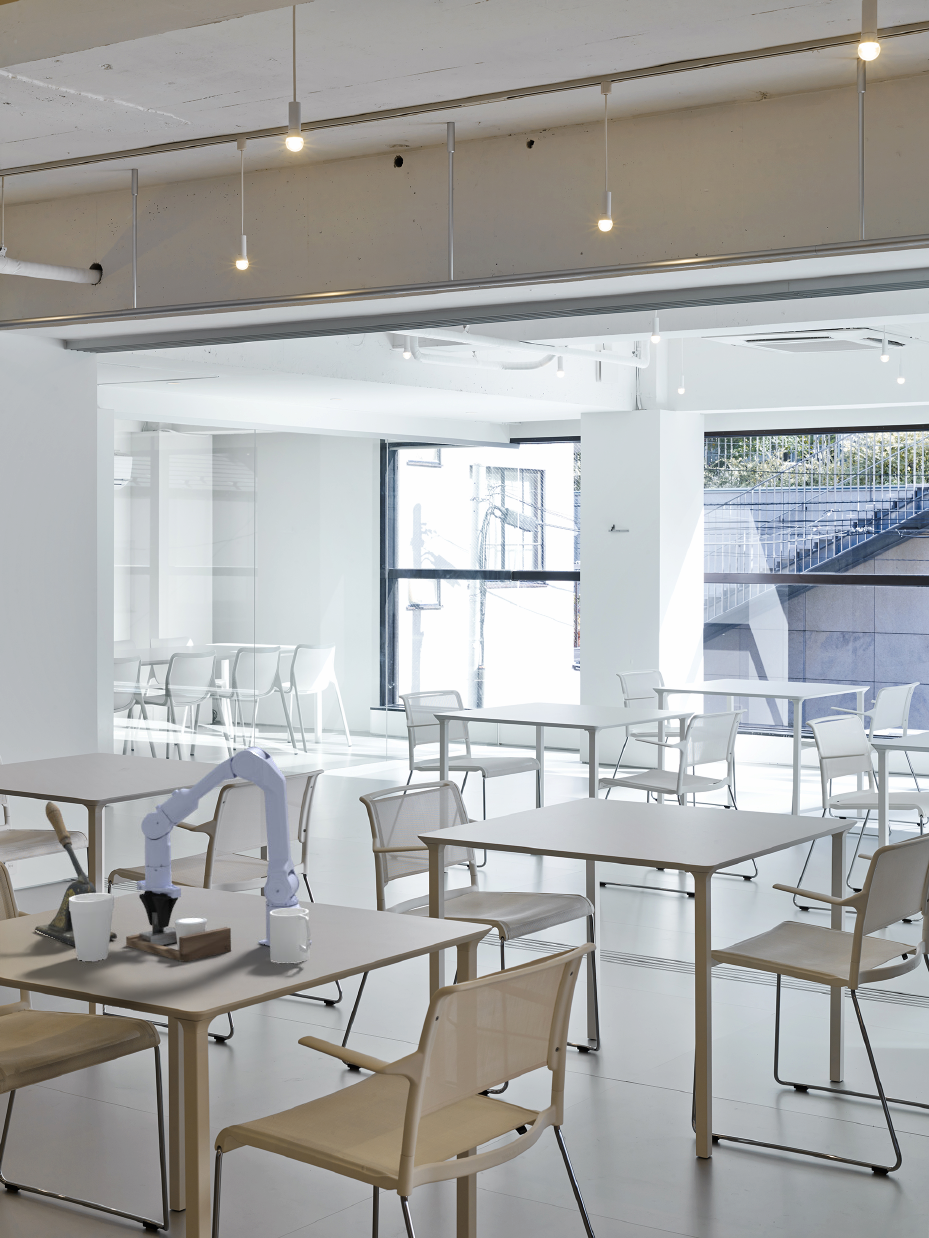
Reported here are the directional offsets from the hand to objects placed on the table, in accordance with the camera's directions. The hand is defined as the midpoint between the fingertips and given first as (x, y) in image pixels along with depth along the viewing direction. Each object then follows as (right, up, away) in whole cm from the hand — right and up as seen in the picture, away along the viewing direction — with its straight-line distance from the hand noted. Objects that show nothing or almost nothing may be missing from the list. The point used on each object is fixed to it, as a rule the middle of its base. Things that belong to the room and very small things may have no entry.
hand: (159, 925), depth 313 cm
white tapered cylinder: (+9, -4, -8) cm, 13 cm away
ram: (+1, -4, 0) cm, 4 cm away
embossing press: (-21, -5, +9) cm, 24 cm away
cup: (+32, -4, -17) cm, 37 cm away
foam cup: (-12, -4, -12) cm, 17 cm away
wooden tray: (+5, -4, -5) cm, 8 cm away
